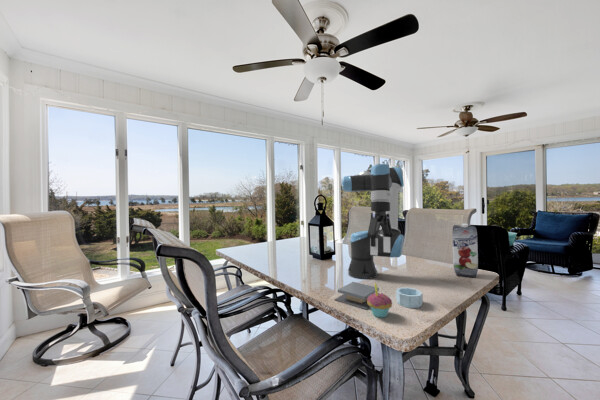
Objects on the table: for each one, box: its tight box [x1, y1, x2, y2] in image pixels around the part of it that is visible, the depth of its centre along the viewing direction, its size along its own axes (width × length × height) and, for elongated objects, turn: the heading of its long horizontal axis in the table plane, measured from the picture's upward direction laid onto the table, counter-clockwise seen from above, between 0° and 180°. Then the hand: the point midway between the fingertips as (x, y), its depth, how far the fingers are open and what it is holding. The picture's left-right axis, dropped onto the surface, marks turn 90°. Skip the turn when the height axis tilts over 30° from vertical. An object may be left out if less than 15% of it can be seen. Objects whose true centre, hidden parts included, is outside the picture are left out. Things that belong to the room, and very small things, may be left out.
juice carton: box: [452, 223, 479, 278], centre depth 131 cm, size 9×10×27 cm
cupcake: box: [367, 282, 393, 318], centre depth 89 cm, size 9×8×12 cm
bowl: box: [395, 286, 424, 309], centre depth 98 cm, size 9×9×4 cm
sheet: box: [337, 281, 380, 300], centre depth 103 cm, size 12×12×1 cm
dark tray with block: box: [334, 294, 371, 311], centre depth 103 cm, size 14×14×3 cm
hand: (380, 253), depth 102 cm, fingers open, 13 cm apart
